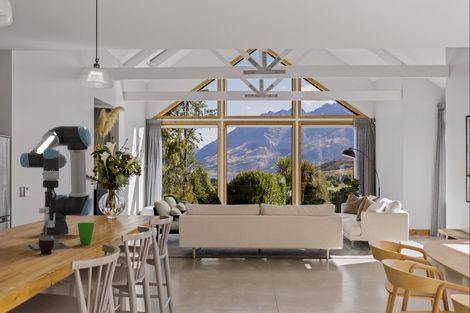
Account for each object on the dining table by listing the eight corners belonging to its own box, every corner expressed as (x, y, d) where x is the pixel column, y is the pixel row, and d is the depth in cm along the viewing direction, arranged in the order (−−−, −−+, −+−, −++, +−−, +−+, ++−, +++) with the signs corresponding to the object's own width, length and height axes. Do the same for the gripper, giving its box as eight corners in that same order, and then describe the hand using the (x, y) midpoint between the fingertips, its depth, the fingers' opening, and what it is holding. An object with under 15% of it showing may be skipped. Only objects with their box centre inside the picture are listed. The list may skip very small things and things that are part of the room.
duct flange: (61, 244, 281) (61, 237, 281) (69, 248, 268) (69, 241, 268) (29, 246, 273) (29, 239, 273) (35, 250, 259) (36, 243, 259)
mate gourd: (47, 251, 256) (47, 220, 256) (58, 253, 252) (59, 221, 252) (34, 254, 249) (34, 221, 250) (45, 255, 245) (46, 222, 246)
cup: (97, 243, 286) (98, 222, 286) (87, 245, 277) (88, 224, 277) (83, 242, 289) (83, 221, 289) (72, 244, 280) (73, 223, 280)
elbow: (53, 226, 274) (53, 206, 274) (55, 227, 269) (56, 207, 270) (37, 227, 270) (38, 206, 270) (39, 228, 265) (40, 207, 266)
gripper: (39, 179, 277) (37, 225, 276) (47, 180, 261) (45, 228, 261) (54, 179, 280) (52, 224, 280) (63, 180, 265) (61, 227, 265)
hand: (49, 226), depth 270 cm, fingers closed on elbow, 5 cm apart
